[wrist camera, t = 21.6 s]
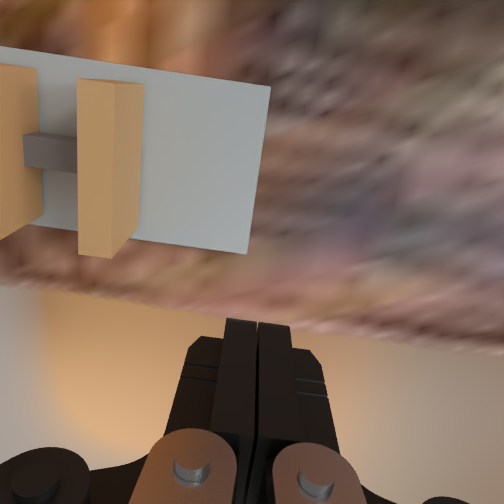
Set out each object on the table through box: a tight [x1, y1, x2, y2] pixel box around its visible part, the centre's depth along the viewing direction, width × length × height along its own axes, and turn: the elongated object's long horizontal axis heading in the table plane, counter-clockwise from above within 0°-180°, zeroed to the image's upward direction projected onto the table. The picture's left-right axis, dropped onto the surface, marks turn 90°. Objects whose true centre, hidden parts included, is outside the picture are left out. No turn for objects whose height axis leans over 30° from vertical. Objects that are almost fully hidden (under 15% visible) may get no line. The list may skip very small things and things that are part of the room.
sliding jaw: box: [0, 63, 144, 259], centre depth 27 cm, size 10×10×6 cm
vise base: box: [0, 46, 271, 254], centre depth 28 cm, size 12×30×8 cm, turn 82°
